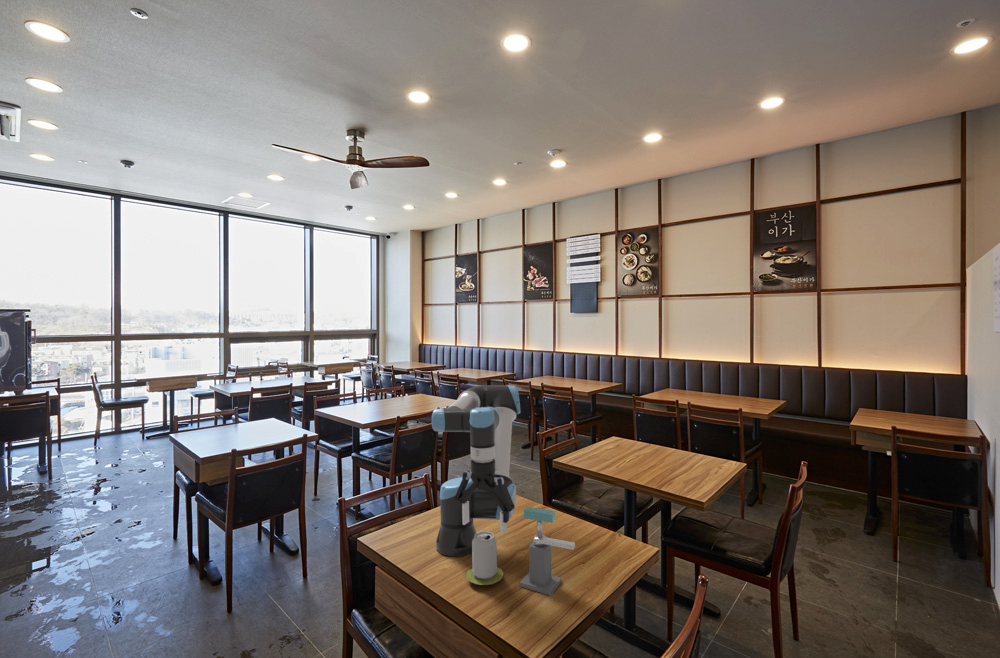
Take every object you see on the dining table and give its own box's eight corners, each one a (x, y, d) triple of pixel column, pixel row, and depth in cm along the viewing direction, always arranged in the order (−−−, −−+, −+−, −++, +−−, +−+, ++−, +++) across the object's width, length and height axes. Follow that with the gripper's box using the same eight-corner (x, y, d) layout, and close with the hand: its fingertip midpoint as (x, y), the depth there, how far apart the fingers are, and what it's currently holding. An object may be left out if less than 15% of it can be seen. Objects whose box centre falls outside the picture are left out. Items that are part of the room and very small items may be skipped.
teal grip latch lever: (572, 553, 129) (571, 518, 129) (523, 543, 135) (523, 510, 135) (575, 546, 133) (575, 513, 133) (528, 537, 139) (527, 505, 139)
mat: (508, 587, 134) (507, 580, 134) (471, 594, 131) (471, 587, 131) (497, 568, 145) (497, 562, 145) (463, 574, 142) (463, 567, 142)
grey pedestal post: (519, 586, 134) (519, 546, 134) (531, 573, 141) (530, 535, 141) (550, 595, 129) (550, 554, 129) (561, 581, 136) (560, 542, 136)
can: (494, 582, 134) (493, 541, 134) (469, 579, 135) (469, 539, 135) (499, 568, 141) (498, 530, 141) (476, 566, 142) (475, 528, 142)
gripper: (442, 457, 141) (444, 524, 141) (513, 468, 129) (514, 542, 129) (456, 450, 147) (457, 515, 148) (524, 461, 135) (526, 531, 135)
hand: (484, 527), depth 138 cm, fingers open, 13 cm apart
